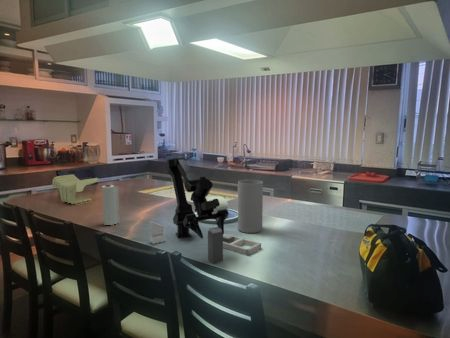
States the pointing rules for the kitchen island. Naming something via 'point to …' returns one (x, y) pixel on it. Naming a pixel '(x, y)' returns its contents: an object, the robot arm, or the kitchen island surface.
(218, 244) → the iec plug
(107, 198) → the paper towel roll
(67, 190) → the pale green plastic piece
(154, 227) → the white angled block
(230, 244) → the beige divided rectangular frame
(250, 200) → the cylinder vase
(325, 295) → the kitchen island surface
